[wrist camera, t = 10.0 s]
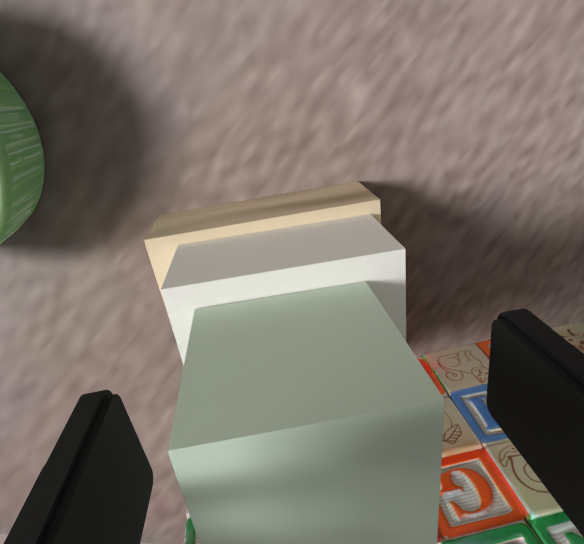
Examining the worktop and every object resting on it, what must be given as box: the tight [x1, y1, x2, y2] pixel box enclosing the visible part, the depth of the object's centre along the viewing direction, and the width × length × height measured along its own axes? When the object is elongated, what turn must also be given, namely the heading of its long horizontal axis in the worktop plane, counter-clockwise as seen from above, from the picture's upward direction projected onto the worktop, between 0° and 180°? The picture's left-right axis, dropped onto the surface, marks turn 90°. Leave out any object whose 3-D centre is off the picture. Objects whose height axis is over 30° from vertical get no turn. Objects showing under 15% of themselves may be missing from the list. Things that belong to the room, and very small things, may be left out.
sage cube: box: [168, 281, 445, 544], centre depth 11 cm, size 5×5×5 cm
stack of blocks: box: [184, 322, 584, 544], centre depth 18 cm, size 21×6×12 cm, turn 100°
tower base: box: [144, 181, 381, 339], centre depth 18 cm, size 8×8×4 cm
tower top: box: [161, 214, 406, 365], centre depth 15 cm, size 7×7×4 cm
